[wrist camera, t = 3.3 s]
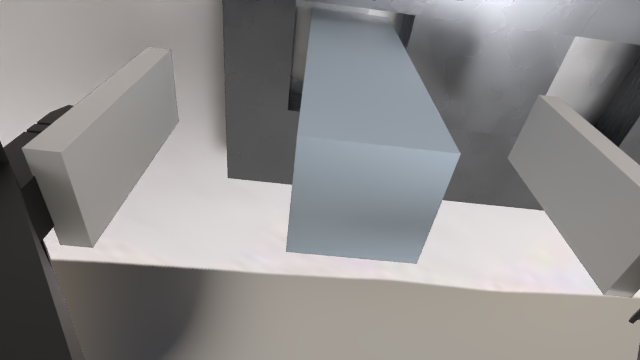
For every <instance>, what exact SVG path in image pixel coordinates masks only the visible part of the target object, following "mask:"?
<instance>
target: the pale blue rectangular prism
mask: <svg viewBox="0 0 640 360" xmlns="http://www.w3.org/2000/svg"><path fill="white" fill-rule="evenodd" d="M460 155H461V153H460V152H459V150H458V148H457V146H456V144H455V142H454V140H453V138H452V136H451V135H450V133H449V131H448V129H447V127H446V125H445V123H444V121H443V120H442V118H441V116H440V114H439V112H438V110H437V108H436V106H435V104H434V103H433V101H432V99H431V97H430V95H429V93H428V91H427V89H426V88H425V86H424V84H423V82H422V80H421V78H420V76H419V74H418V72H417V71H416V69H415V67H414V65H413V63H412V61H411V59H410V57H409V55H408V54H407V52H406V50H405V48H404V46H403V44H402V42H401V40H400V39H399V37H398V35H397V33H396V31H395V29H394V27H393V25H392V23H391V22H390V20H389V18H388V17H381V16H373V15H365V14H358V13H350V12H343V11H335V10H327V9H320V8H313V10H312V18H311V26H310V34H309V42H308V50H307V59H306V67H305V75H304V83H303V91H302V99H301V108H300V116H299V124H298V132H297V142H296V152H295V162H294V173H293V183H292V194H291V204H290V214H289V225H288V235H287V246H286V252H294V253H305V254H316V255H327V256H338V257H349V258H360V259H371V260H381V261H392V262H403V263H414V264H417V261H418V259H419V256H420V254H421V252H422V249H423V247H424V244H425V242H426V239H427V237H428V234H429V232H430V229H431V227H432V224H433V222H434V219H435V217H436V214H437V212H438V209H439V207H440V204H441V202H442V199H443V197H444V194H445V192H446V189H447V187H448V184H449V182H450V179H451V177H452V174H453V172H454V169H455V167H456V164H457V162H458V160H459V157H460Z"/></svg>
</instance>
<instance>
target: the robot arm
mask: <svg viewBox="0 0 640 360" xmlns="http://www.w3.org/2000/svg"><path fill="white" fill-rule="evenodd" d="M178 122H179V119H178V110H177V101H176V92H175V83H174V74H173V65H172V56H171V49H163V48H154V47H147V48H146V49H145V50H143V51H142V52H141V53H140V54H138V55H137V56H136V57H135V58H133V59H132V60H131V61H130V62H128V63H127V64H126V65H125V66H123V67H122V68H121V69H120V70H118V71H117V72H116V73H115V74H113V75H112V76H111V77H110V78H108V79H107V80H106V81H105V82H103V83H102V84H101V85H100V86H98V87H97V88H96V89H95V90H93V91H92V92H91V93H90V94H88V95H87V96H86V97H85V98H83V99H82V100H81V101H80V102H78V103H77V104H76V105H75V106H71V105H67V106H65V107H62V108H60V109H57V110H55V111H52V112H50V113H49V114H47V115H46V116H45V117H43V118H42V119H41V120H39V121H38V122H37V124H34V125H33V126H31V127H30V128H29V129H27V132H23V133H22V134H21V135H19V136H18V137H17V138H15V139H14V140H13V141H12V142H10V143H9V144H8V145H6V146H5V147H4V148H3V147H2V144H1V142H0V360H85V358H84V355H83V352H82V349H81V346H80V343H79V341H78V338H77V335H76V332H75V329H74V326H73V323H72V320H71V317H70V314H69V311H68V308H67V306H66V303H65V300H64V297H63V294H62V291H61V288H60V285H59V282H58V279H57V277H56V274H55V271H54V268H53V265H52V262H51V259H50V256H49V253H48V250H47V248H46V245H45V243H44V241H43V239H44V237H45V236H46V235H47V234H48V233H49V232H50V230H51V229H52V228H54V230H55V233H56V235H57V238H58V240H59V242H60V245H69V246H80V247H91V248H93V247H94V245H95V244H96V242H97V241H98V239H99V238H100V236H101V235H102V233H103V232H104V230H105V229H106V228H107V226H108V225H109V223H110V222H111V220H112V219H113V217H114V216H115V214H116V213H117V211H118V210H119V208H120V207H121V205H122V204H123V203H124V201H125V200H126V198H127V197H128V195H129V194H130V192H131V191H132V189H133V188H134V186H135V185H136V183H137V182H138V180H139V179H140V178H141V176H142V175H143V173H144V172H145V170H146V169H147V167H148V166H149V164H150V163H151V161H152V160H153V158H154V157H155V155H156V154H157V153H158V151H159V150H160V148H161V147H162V145H163V144H164V142H165V141H166V139H167V138H168V136H169V135H170V133H171V132H172V130H173V129H174V128H175V126H176V125H177V123H178ZM508 160H509V161H510V163H511V164H512V165H513V167H514V168H515V170H516V171H517V173H518V174H519V175H520V177H521V178H522V180H523V181H524V182H525V184H526V185H527V187H528V188H529V190H530V191H531V192H532V194H533V195H534V197H535V198H536V199H537V201H538V202H539V204H540V205H541V207H542V208H543V209H544V211H545V212H546V214H547V215H548V217H549V218H550V219H551V221H552V222H553V224H554V225H555V226H556V228H557V229H558V231H559V232H560V234H561V235H562V236H563V238H564V239H565V241H566V242H567V243H568V245H569V246H570V248H571V249H572V251H573V252H574V253H575V255H576V256H577V258H578V259H579V261H580V262H581V263H582V265H583V266H584V268H585V269H586V270H587V272H588V273H589V275H590V276H591V278H592V279H593V280H594V282H595V283H596V285H597V286H598V288H599V289H600V290H601V292H602V293H603V295H609V296H620V297H630V298H631V297H632V296H633V295H634V294H635V293H636V292H637V291H638V290H639V289H640V165H639V164H637V163H636V162H635V161H634V160H633V159H632V158H630V157H629V156H628V155H627V154H626V153H624V152H623V151H622V150H621V149H620V148H618V147H617V146H616V145H615V144H614V143H613V142H611V141H610V140H609V139H608V138H607V137H605V136H604V135H603V134H602V133H601V132H599V131H598V130H597V129H596V128H595V127H593V126H592V125H591V124H590V123H589V122H588V121H586V120H585V119H584V118H583V117H582V116H580V115H579V114H578V113H577V112H576V111H574V110H573V109H572V108H571V107H570V106H569V105H567V104H566V103H565V102H564V101H563V100H561V99H560V98H559V97H552V96H544V95H538V97H537V99H536V101H535V103H534V105H533V107H532V109H531V111H530V113H529V115H528V118H527V120H526V122H525V124H524V126H523V128H522V130H521V132H520V134H519V136H518V138H517V140H516V142H515V144H514V146H513V148H512V150H511V152H510V154H509V156H508ZM638 319H639V320H640V309H639V310H638V311H637V312H636V313H635V314H634V315H633V316H632V317H631V318H630V320H629V322H631V323H634V322H635V321H636V320H638ZM637 360H640V346H639V352H638V359H637Z"/></svg>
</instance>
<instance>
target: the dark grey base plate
mask: <svg viewBox="0 0 640 360" xmlns="http://www.w3.org/2000/svg"><path fill="white" fill-rule="evenodd" d="M222 3H223V36H224V69H225V102H226V135H227V168H228V178H233V179H242V180H252V181H262V182H272V183H281V184H291V185H292V183H293V173H294V162H295V152H296V142H297V132H298V124H299V116H300V108H301V99H302V91H303V83H304V75H305V67H306V59H307V50H308V42H309V34H310V26H311V18H312V10H313V8H320V9H327V10H335V11H343V12H350V13H358V14H365V15H373V16H381V17H388V18H389V20H390V22H391V23H392V25H393V27H394V29H395V31H396V33H397V35H398V37H399V39H400V40H401V42H402V44H403V46H404V48H405V50H406V52H407V54H408V55H409V57H410V59H411V61H412V63H413V65H414V67H415V69H416V71H417V72H418V74H419V76H420V78H421V80H422V82H423V84H424V86H425V88H426V89H427V91H428V93H429V95H430V97H431V99H432V101H433V103H434V104H435V106H436V108H437V110H438V112H439V114H440V116H441V118H442V120H443V121H444V123H445V125H446V127H447V129H448V131H449V133H450V135H451V136H452V138H453V140H454V142H455V144H456V146H457V148H458V150H459V152H460V153H461V155H460V157H459V160H458V162H457V164H456V167H455V169H454V172H453V174H452V177H451V179H450V182H449V184H448V187H447V189H446V192H445V194H444V197H443V199H442V200H447V201H457V202H466V203H476V204H486V205H496V206H505V207H515V208H525V209H535V210H544V209H543V208H542V207H541V205H540V204H539V202H538V201H537V199H536V198H535V197H534V195H533V194H532V192H531V191H530V190H529V188H528V187H527V185H526V184H525V182H524V181H523V180H522V178H521V177H520V175H519V174H518V173H517V171H516V170H515V168H514V167H513V165H512V164H511V163H510V161H509V160H508V156H509V154H510V152H511V150H512V148H513V146H514V144H515V142H516V140H517V138H518V136H519V134H520V132H521V130H522V128H523V126H524V124H525V122H526V120H527V118H528V115H529V113H530V111H531V109H532V107H533V105H534V103H535V101H536V99H537V97H538V95H544V96H552V97H559V98H560V99H561V100H563V101H564V102H565V103H566V104H567V105H569V106H570V107H571V108H572V109H573V110H574V111H576V112H577V113H578V114H579V115H580V116H582V117H583V118H584V119H585V120H586V121H588V122H589V123H590V124H591V125H592V126H593V127H595V128H596V129H597V130H598V131H599V132H601V133H602V134H603V135H604V136H605V137H607V138H608V139H609V140H610V141H611V142H613V143H614V144H615V145H616V146H617V147H618V148H620V149H621V150H622V151H623V152H624V153H626V154H627V155H628V156H629V157H630V158H632V159H633V160H634V161H635V162H636V163H637V164H639V165H640V0H222Z"/></svg>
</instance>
